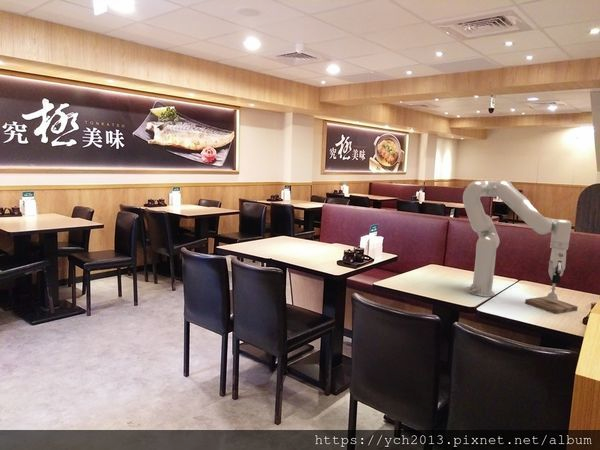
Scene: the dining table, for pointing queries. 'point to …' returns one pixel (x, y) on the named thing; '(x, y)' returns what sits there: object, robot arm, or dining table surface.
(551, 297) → the chalice
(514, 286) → the dining table surface
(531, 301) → the serving board
